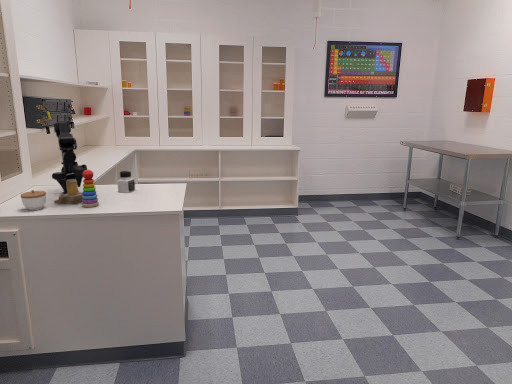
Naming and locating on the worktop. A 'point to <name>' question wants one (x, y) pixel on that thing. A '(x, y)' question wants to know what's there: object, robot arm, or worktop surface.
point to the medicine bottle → (126, 182)
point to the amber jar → (72, 187)
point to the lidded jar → (34, 199)
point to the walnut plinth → (70, 199)
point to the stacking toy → (89, 190)
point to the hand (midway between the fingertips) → (72, 189)
